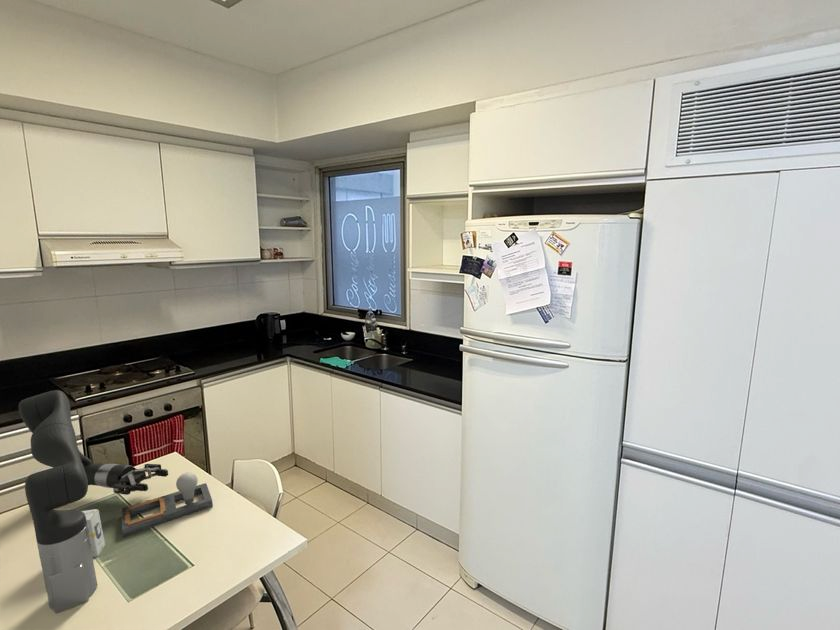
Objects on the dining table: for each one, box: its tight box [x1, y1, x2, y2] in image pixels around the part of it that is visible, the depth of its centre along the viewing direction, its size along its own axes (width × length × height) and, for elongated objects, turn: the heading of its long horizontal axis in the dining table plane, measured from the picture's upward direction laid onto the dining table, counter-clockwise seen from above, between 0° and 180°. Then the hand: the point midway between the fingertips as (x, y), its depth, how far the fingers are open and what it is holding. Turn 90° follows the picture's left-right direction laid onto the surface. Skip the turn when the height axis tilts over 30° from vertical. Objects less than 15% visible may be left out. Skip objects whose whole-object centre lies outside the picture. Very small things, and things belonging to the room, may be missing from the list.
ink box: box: [81, 508, 106, 558], centre depth 117 cm, size 9×5×12 cm, turn 105°
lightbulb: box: [175, 471, 199, 505], centre depth 138 cm, size 6×6×11 cm
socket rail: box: [121, 482, 214, 538], centre depth 136 cm, size 12×24×3 cm, turn 125°
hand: (157, 480), depth 140 cm, fingers open, 8 cm apart
